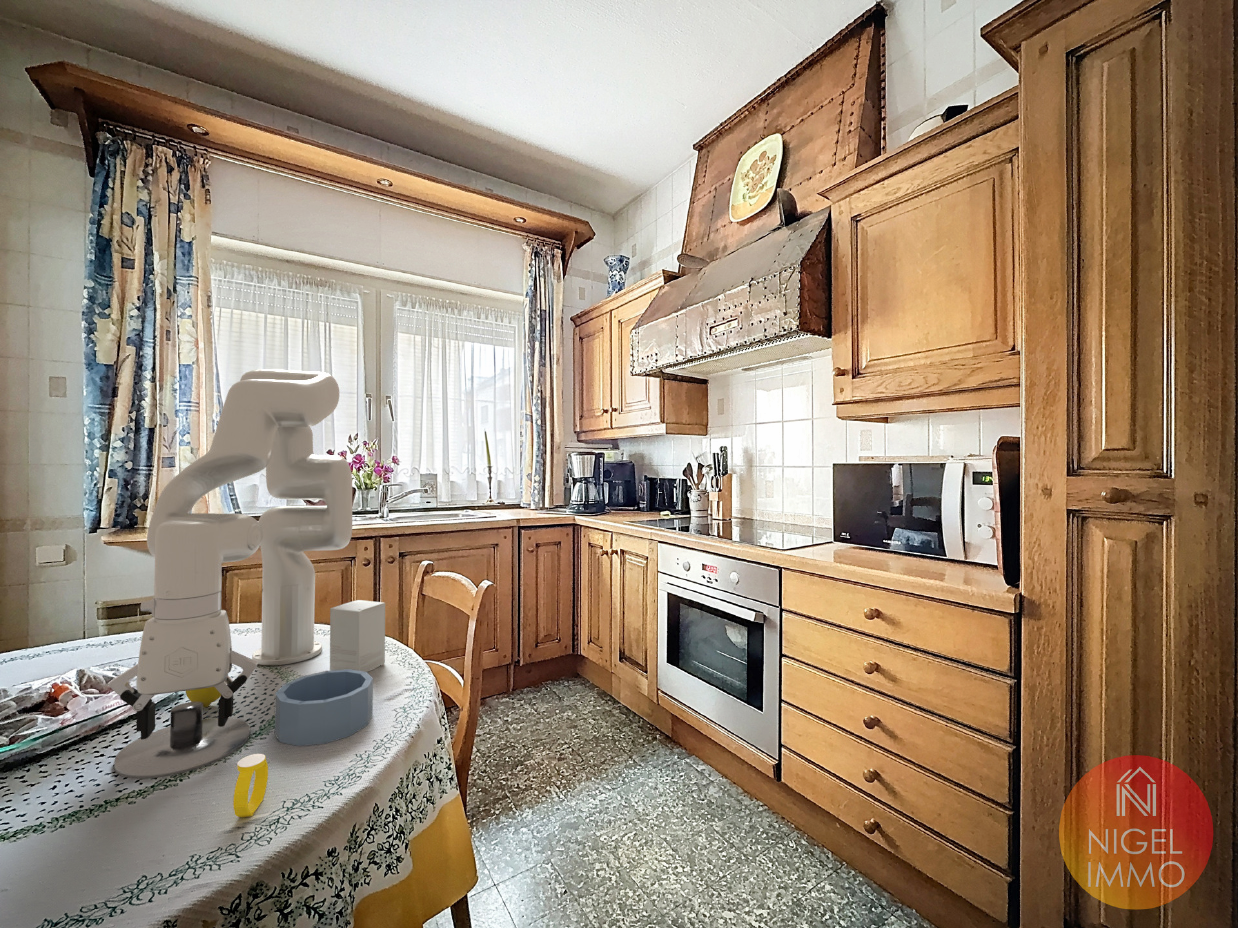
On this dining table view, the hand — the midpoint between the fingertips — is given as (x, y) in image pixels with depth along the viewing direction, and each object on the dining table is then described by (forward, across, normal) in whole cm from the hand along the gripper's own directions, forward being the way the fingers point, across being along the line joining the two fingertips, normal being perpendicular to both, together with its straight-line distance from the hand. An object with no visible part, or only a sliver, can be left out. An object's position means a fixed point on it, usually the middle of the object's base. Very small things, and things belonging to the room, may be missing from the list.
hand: (186, 727), depth 77 cm
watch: (+3, +11, -20) cm, 23 cm away
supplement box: (+3, +22, +24) cm, 32 cm away
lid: (+3, 0, 0) cm, 3 cm away
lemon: (+3, -1, +14) cm, 15 cm away
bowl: (+3, +18, 0) cm, 18 cm away
